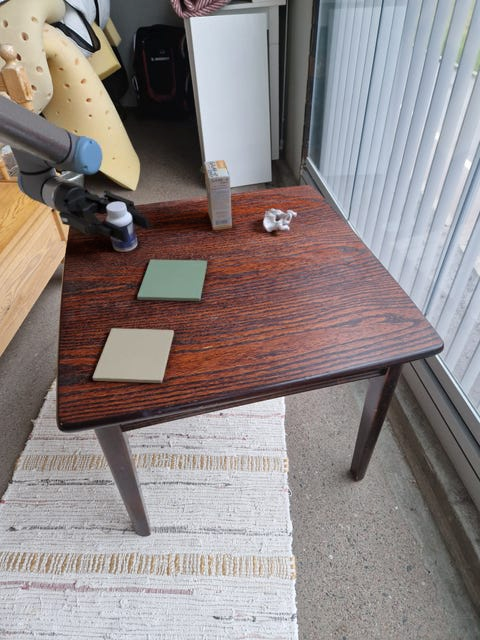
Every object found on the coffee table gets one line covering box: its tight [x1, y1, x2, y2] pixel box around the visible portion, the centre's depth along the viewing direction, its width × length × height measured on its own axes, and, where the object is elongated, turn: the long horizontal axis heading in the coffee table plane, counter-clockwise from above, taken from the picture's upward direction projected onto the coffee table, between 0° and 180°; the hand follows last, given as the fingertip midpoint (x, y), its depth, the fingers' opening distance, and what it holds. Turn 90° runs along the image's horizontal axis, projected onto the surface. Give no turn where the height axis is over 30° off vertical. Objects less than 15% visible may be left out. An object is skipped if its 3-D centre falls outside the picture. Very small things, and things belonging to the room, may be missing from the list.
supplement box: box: [203, 159, 233, 231], centre depth 96 cm, size 8×5×13 cm, turn 11°
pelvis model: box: [262, 207, 298, 233], centre depth 97 cm, size 8×4×7 cm
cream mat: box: [92, 327, 175, 384], centre depth 70 cm, size 11×11×1 cm
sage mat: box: [136, 259, 208, 302], centre depth 84 cm, size 12×12×1 cm
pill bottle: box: [105, 202, 138, 253], centre depth 90 cm, size 5×5×10 cm
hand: (136, 229), depth 87 cm, fingers closed on pill bottle, 5 cm apart
